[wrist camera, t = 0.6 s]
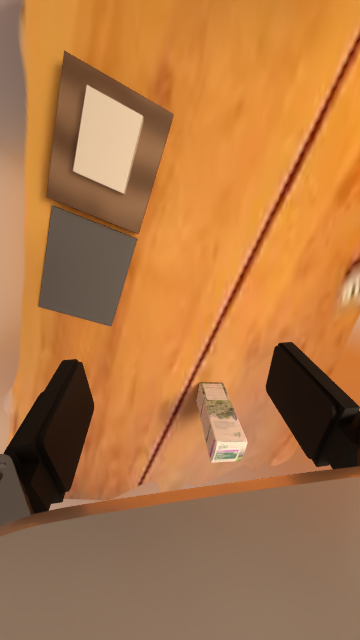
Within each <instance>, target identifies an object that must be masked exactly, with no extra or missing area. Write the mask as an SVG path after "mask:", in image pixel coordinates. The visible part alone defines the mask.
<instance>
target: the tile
mask: <svg viewBox="0 0 360 640" xmlns="http://www.w3.org/2000/svg"><path fill="white" fill-rule="evenodd" d="M143 121H144V120H143V116H142V115H140V114H139V113H137V112H135V111H133V110H131V109H130V108H128V107H126V106H124V105H122V104H121V103H119V102H117V101H115V100H113V99H112V98H110V97H108V96H106V95H104V94H103V93H101V92H99V91H97V90H95V89H94V88H92V87H90V86H88V85H87V87H86V93H85V99H84V105H83V112H82V118H81V124H80V130H79V137H78V143H77V149H76V156H75V162H74V168H73V171H74V172H76V173H78V174H80V175H82V176H85V177H87V178H89V179H91V180H94V181H96V182H98V183H100V184H103V185H105V186H107V187H109V188H112V189H114V190H116V191H118V192H121V193H123V194H125V192H126V188H127V185H128V181H129V177H130V173H131V169H132V165H133V161H134V157H135V153H136V149H137V145H138V141H139V137H140V133H141V129H142V125H143Z"/></svg>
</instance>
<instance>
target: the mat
mask: <svg viewBox="0 0 360 640" xmlns="http://www.w3.org/2000/svg"><path fill="white" fill-rule="evenodd" d="M136 241H137V238H134V237H131V236H129V235H126V234H124V233H121V232H119V231H116V230H114V229H111V228H109V227H106V226H104V225H101V224H99V223H96V222H93V221H91V220H88V219H86V218H83V217H81V216H78V215H76V214H73V213H71V212H68V211H66V210H63V209H61V208H58V207H55V206H52V211H51V218H50V226H49V233H48V241H47V248H46V256H45V263H44V271H43V278H42V286H41V293H40V301H39V307H42V308H46V309H49V310H53V311H57V312H60V313H64V314H68V315H71V316H75V317H79V318H82V319H86V320H89V321H93V322H97V323H100V324H104V325H108V326H112V322H113V319H114V316H115V312H116V309H117V306H118V302H119V299H120V295H121V292H122V289H123V285H124V282H125V279H126V275H127V272H128V268H129V265H130V262H131V258H132V255H133V252H134V248H135V245H136Z"/></svg>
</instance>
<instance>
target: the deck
mask: <svg viewBox="0 0 360 640" xmlns="http://www.w3.org/2000/svg"><path fill="white" fill-rule="evenodd" d="M87 85H88V86H90V87H92V88H94V89H95V90H97V91H99V92H101V93H103V94H104V95H106V96H108V97H110V98H112V99H113V100H115V101H117V102H119V103H121V104H122V105H124V106H126V107H128V108H130V109H131V110H133V111H135V112H137V113H139V114H140V115H142V116H143V120H144V121H143V125H142V129H141V133H140V137H139V141H138V145H137V149H136V153H135V157H134V161H133V165H132V169H131V173H130V177H129V181H128V185H127V188H126V192H125V194H123V193H121V192H118V191H116V190H114V189H112V188H109V187H107V186H105V185H103V184H100V183H98V182H96V181H94V180H91V179H89V178H87V177H85V176H82V175H80V174H78V173H76V172H74V171H73V168H74V162H75V156H76V149H77V143H78V137H79V130H80V124H81V118H82V112H83V105H84V99H85V93H86V87H87ZM173 115H174V114H173V113H171V112H169V111H168V110H166V109H164V108H162V107H161V106H159V105H157V104H155V103H154V102H152V101H150V100H149V99H147V98H145V97H143V96H142V95H140V94H138V93H137V92H135V91H133V90H131V89H130V88H128V87H126V86H124V85H123V84H121V83H119V82H118V81H116V80H114V79H112V78H111V77H109V76H107V75H106V74H104V73H102V72H100V71H99V70H97V69H95V68H93V67H92V66H90V65H88V64H87V63H85V62H83V61H81V60H80V59H78V58H76V57H75V56H73V55H71V54H69V53H68V52H66V51H64V57H63V65H62V73H61V82H60V90H59V98H58V106H57V114H56V123H55V131H54V139H53V147H52V156H51V164H50V172H49V180H48V188H47V197H48V198H50V199H53V200H55V201H58V202H60V203H63V204H65V205H68V206H70V207H73V208H75V209H78V210H80V211H83V212H85V213H88V214H90V215H93V216H95V217H98V218H100V219H102V220H105V221H107V222H110V223H112V224H115V225H117V226H120V227H122V228H125V229H127V230H130V231H132V232H135V233H137V234H138V233H139V231H140V228H141V225H142V221H143V218H144V214H145V211H146V208H147V204H148V201H149V197H150V194H151V191H152V187H153V184H154V181H155V177H156V174H157V170H158V167H159V164H160V160H161V157H162V154H163V150H164V147H165V143H166V140H167V137H168V133H169V130H170V127H171V123H172V119H173Z"/></svg>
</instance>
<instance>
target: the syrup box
mask: <svg viewBox="0 0 360 640" xmlns="http://www.w3.org/2000/svg"><path fill="white" fill-rule="evenodd" d="M196 402H197V406H198V409H199V414H200V418H201V422H202V426H203V431H204V436H205V440H206V445H207V449H208V453H209V457H210V461H211V462H229V461H240V460H241V458H242V456H243V454H244V452H245V449H246V445H247V443H248V442H247V439H246V437H245V434H244V432H243V430H242V427H241V425H240V423H239V420H238V418H237V415H236V413H235V411H234V408H233V406H232V403H231V401H230V399H229V396H228V394H227V392H226V389H225V387H224V384H223V383H200V384H199V389H198V394H197V399H196Z"/></svg>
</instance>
